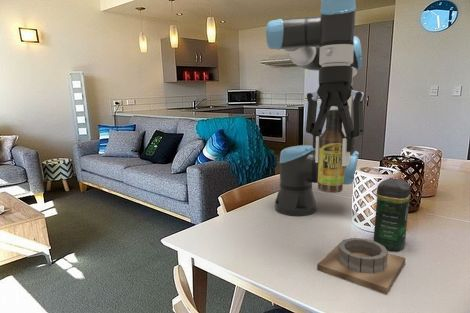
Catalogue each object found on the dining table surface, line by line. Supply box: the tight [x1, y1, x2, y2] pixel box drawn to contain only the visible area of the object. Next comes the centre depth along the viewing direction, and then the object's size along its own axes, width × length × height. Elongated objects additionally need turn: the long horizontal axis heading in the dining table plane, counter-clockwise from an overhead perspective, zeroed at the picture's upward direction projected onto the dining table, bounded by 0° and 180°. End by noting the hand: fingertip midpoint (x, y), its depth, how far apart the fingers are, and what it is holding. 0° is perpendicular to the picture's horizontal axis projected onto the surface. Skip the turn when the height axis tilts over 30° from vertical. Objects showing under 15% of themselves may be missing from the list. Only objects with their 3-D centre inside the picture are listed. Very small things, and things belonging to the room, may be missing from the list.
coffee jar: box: [372, 177, 411, 251], centre depth 90 cm, size 10×8×19 cm
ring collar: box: [316, 237, 406, 295], centre depth 80 cm, size 16×16×5 cm
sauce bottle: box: [317, 110, 345, 194], centre depth 79 cm, size 6×6×20 cm
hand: (332, 163), depth 79 cm, fingers closed on sauce bottle, 6 cm apart
